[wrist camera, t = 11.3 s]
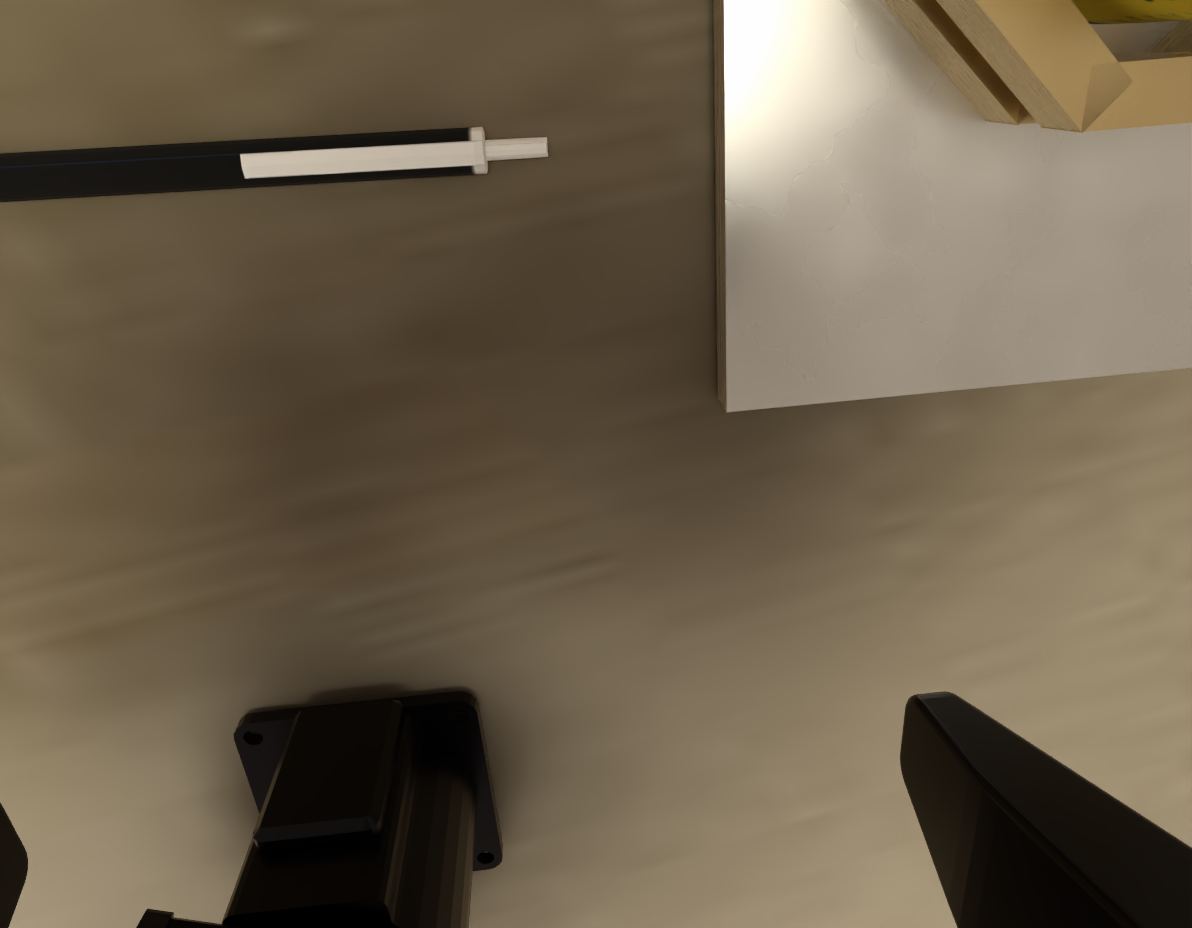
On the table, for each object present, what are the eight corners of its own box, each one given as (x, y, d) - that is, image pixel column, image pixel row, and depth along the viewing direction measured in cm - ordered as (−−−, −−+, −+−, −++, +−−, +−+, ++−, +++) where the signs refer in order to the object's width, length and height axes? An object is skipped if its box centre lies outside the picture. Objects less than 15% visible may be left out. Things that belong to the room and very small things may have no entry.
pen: (548, 168, 18) (549, 172, 17) (-401, 222, 17) (-462, 232, 16) (545, 122, 17) (546, 125, 16) (-426, 176, 16) (-490, 183, 15)
